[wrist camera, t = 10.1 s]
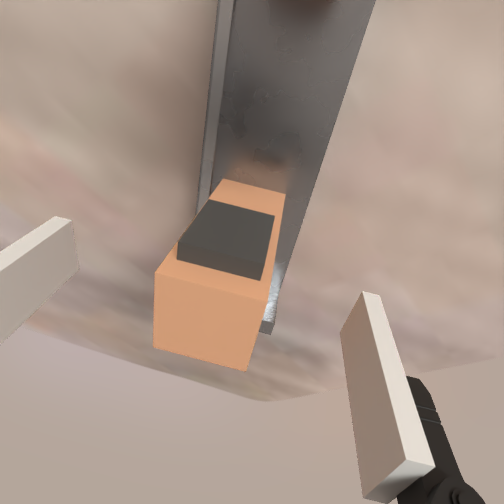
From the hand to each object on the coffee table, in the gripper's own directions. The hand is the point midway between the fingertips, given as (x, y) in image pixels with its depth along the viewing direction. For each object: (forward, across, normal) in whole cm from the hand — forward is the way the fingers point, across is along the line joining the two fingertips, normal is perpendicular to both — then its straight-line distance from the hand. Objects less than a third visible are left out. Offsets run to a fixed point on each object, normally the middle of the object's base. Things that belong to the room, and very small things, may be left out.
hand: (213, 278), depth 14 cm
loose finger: (+7, +1, -1) cm, 7 cm away
